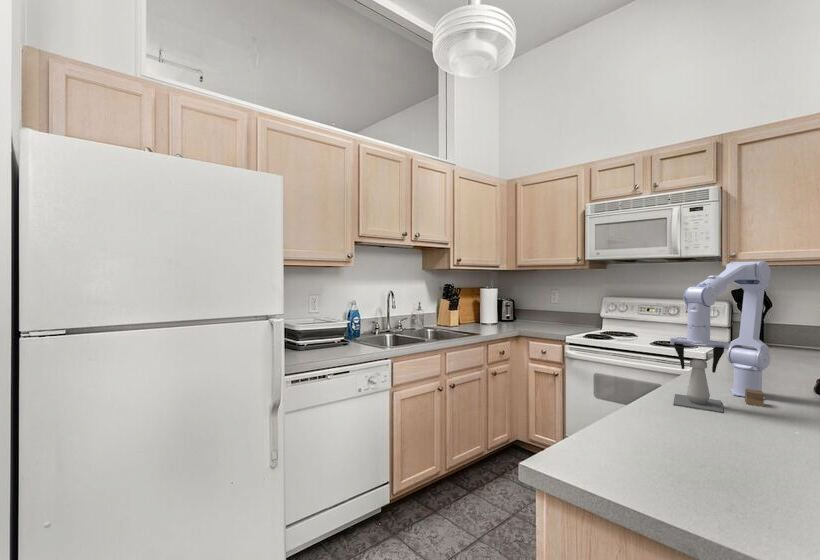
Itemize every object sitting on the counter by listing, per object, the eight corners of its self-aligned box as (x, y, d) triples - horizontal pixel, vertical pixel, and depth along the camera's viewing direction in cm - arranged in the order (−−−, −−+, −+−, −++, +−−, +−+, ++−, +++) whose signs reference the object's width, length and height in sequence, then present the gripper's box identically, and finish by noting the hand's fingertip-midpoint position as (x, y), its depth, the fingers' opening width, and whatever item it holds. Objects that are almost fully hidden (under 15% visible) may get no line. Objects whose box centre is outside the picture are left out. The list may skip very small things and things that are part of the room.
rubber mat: (675, 395, 133) (675, 393, 133) (720, 401, 127) (721, 400, 127) (673, 405, 123) (673, 403, 123) (723, 413, 116) (723, 411, 116)
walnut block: (744, 401, 128) (745, 388, 128) (761, 403, 125) (761, 390, 125) (746, 404, 124) (746, 391, 124) (763, 407, 122) (763, 393, 122)
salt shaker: (702, 399, 127) (703, 358, 127) (714, 405, 121) (714, 362, 121) (682, 399, 128) (683, 357, 127) (693, 405, 122) (693, 361, 122)
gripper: (670, 325, 125) (669, 369, 126) (729, 329, 117) (729, 376, 117) (671, 323, 131) (670, 365, 131) (728, 326, 123) (727, 371, 123)
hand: (698, 370), depth 125 cm, fingers open, 7 cm apart
